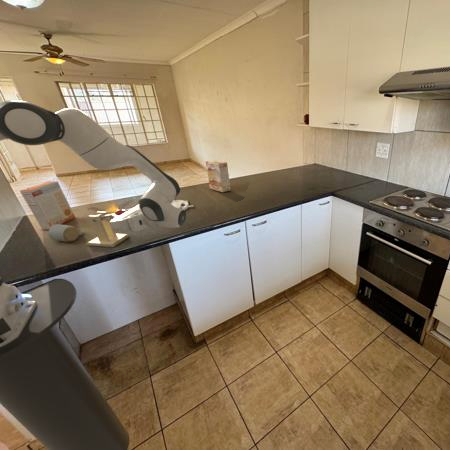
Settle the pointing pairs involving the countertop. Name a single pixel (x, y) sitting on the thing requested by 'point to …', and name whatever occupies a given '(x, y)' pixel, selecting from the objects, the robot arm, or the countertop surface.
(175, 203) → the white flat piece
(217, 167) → the coffeecake box
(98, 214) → the lever
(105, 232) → the bracket
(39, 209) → the cracker box
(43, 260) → the countertop surface
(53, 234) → the ceramic mug
